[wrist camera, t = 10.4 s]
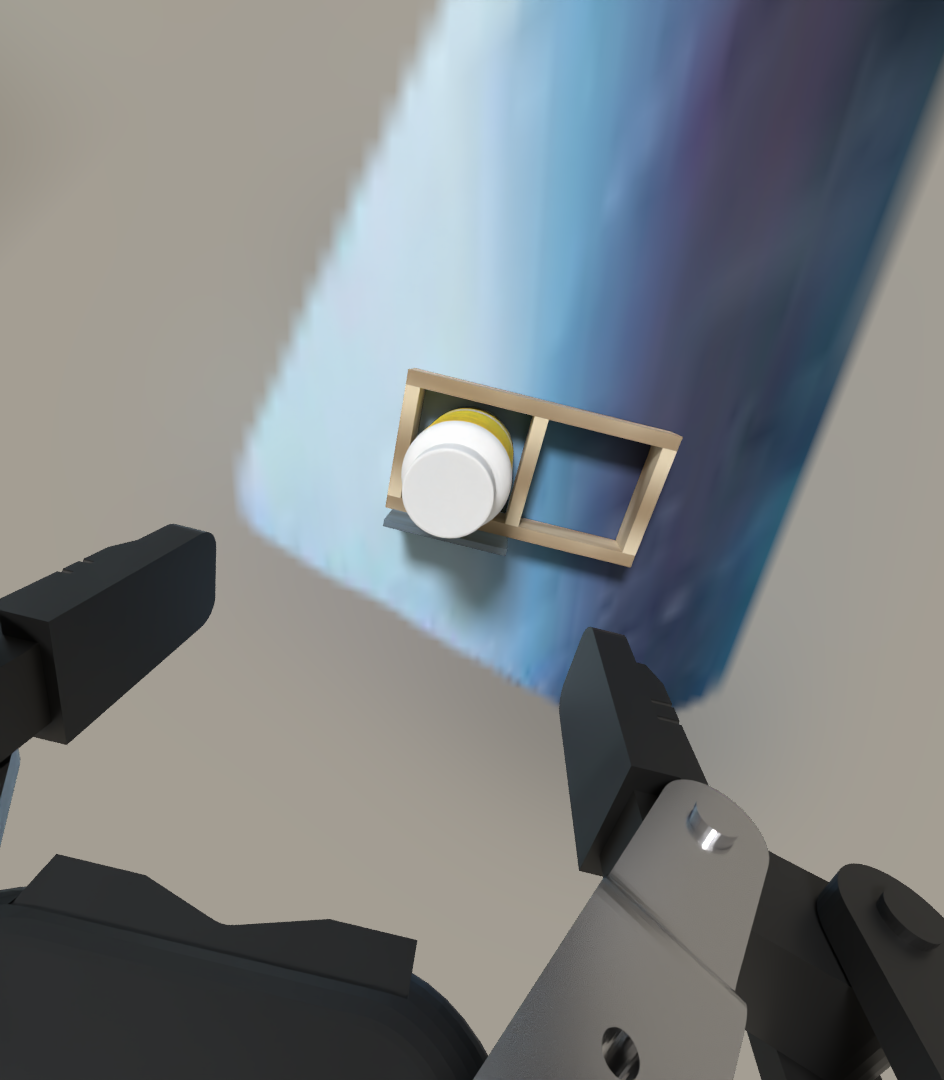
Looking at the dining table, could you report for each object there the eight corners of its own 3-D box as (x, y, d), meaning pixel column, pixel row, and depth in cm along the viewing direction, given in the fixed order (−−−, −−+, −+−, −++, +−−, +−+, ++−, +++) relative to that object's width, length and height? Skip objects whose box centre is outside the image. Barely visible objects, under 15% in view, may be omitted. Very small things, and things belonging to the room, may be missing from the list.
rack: (415, 368, 27) (400, 370, 23) (671, 431, 27) (695, 443, 24) (392, 503, 30) (375, 524, 27) (621, 559, 30) (636, 588, 27)
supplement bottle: (429, 400, 28) (388, 421, 19) (519, 411, 28) (522, 439, 18) (422, 487, 30) (382, 545, 21) (506, 498, 30) (503, 562, 21)
